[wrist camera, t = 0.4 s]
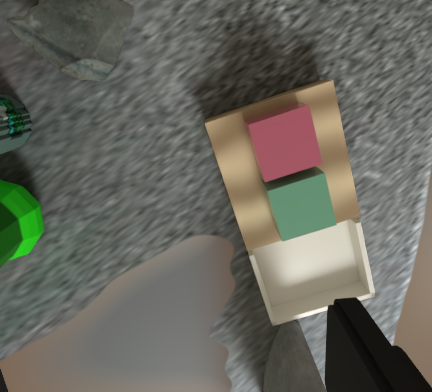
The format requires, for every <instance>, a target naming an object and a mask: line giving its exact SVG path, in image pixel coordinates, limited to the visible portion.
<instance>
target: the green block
mask: <svg viewBox="0 0 432 392" xmlns="http://www.w3.org/2000/svg"><path fill="white" fill-rule="evenodd" d="M261 182H262V185H263V188H264V192H265V195H266V198H267V202H268V205H269V209H270V212H271V215H272V219H273V222H274V226H275V228H276V230H277V232H278V234H279V236H280V238H281V240H282V242H283V241H287V240H290V239H293V238H296V237H299V236H303V235H306V234H309V233H312V232H316V231H319V230H322V229H325V228H329V227H332V226H335V225H337V224H336V219H335V215H334V211H333V206H332V202H331V198H330V193H329V189H328V184H327V180H326V176H325V173H324V172H323V171H322V170H320V169H319V168H318V167H316V166H314V167H311V168H308V169H305V170H302V171H299V172H296V173H292V174H289V175H286V176H283V177H280V178H277V179H274V180H271V181H268V182H264V180H261Z"/></svg>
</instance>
